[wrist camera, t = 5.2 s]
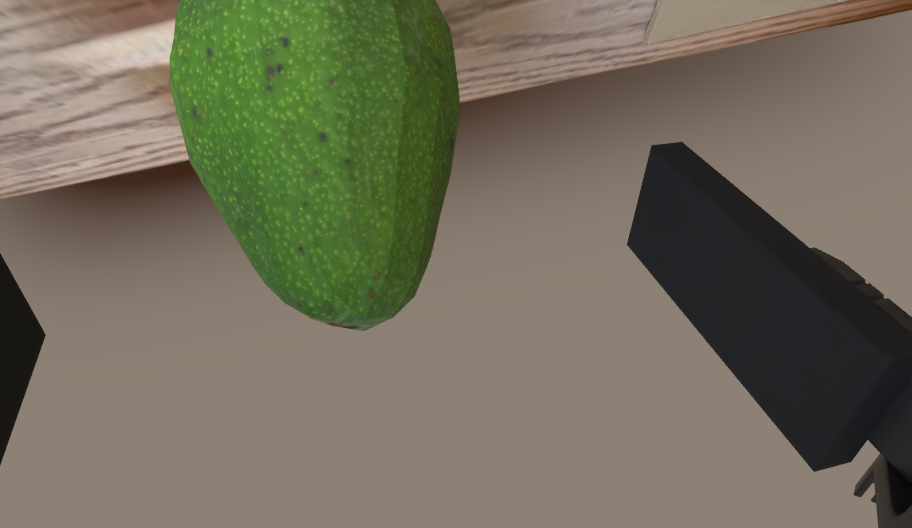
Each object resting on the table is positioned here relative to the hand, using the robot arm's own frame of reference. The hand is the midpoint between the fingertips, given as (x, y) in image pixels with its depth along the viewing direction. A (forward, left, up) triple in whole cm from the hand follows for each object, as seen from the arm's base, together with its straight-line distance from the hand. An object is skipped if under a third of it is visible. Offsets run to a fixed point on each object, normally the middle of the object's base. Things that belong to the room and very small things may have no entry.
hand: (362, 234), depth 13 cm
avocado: (+3, -3, -10) cm, 11 cm away
